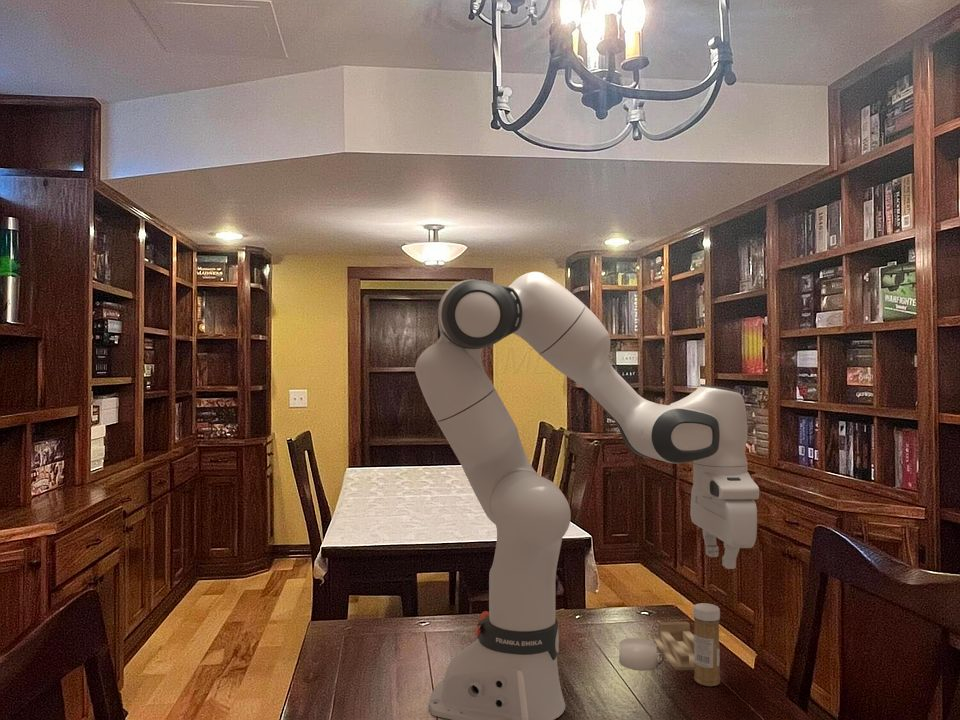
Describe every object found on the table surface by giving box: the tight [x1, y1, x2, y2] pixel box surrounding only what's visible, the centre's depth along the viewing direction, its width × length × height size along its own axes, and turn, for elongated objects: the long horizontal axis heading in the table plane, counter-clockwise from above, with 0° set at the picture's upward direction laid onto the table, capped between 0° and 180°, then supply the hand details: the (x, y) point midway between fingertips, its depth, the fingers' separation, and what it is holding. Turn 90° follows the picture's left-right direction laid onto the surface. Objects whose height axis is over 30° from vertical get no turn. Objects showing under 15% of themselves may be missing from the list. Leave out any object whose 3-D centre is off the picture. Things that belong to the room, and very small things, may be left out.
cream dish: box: [618, 637, 658, 671], centre depth 137 cm, size 7×7×4 cm
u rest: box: [653, 621, 695, 671], centre depth 141 cm, size 14×8×4 cm, turn 3°
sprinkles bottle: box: [692, 602, 721, 687], centre depth 129 cm, size 5×5×14 cm
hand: (720, 561), depth 123 cm, fingers open, 6 cm apart
